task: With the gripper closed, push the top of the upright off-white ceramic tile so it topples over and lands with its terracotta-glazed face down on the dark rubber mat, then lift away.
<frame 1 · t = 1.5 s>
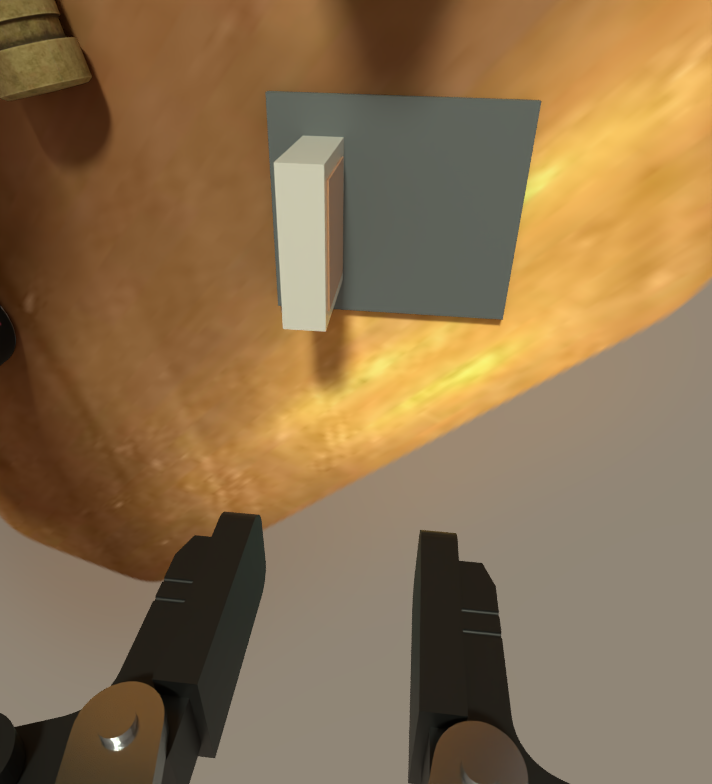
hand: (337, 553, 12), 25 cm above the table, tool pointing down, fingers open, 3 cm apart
tile: (324, 212, 33), point 1 cm above the table, touching mat
mat: (394, 212, 33), on the table
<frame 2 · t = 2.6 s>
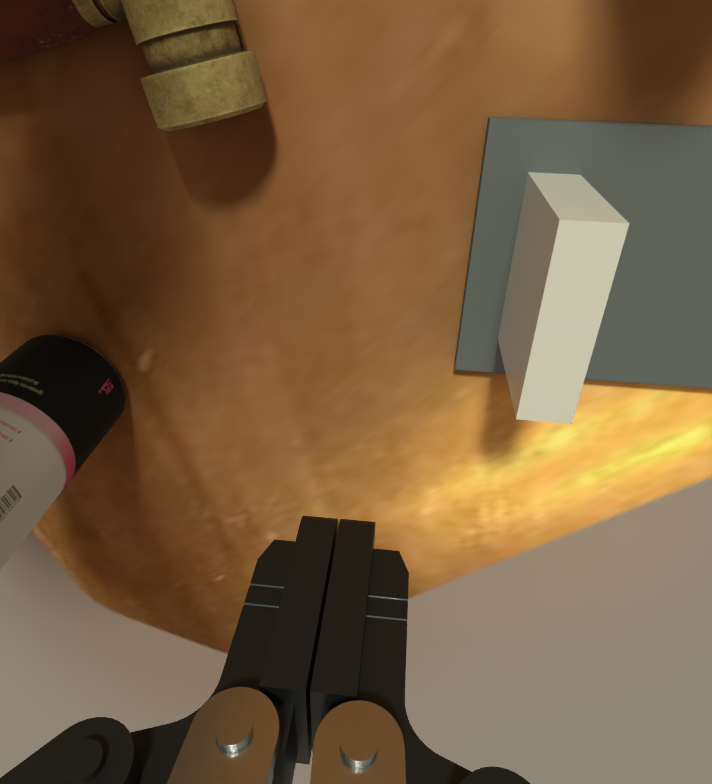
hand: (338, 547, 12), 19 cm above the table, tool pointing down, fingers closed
beverage can: (76, 378, 34), on the table
tile: (535, 263, 26), point 1 cm above the table, touching mat
mat: (620, 264, 27), on the table
gavel: (16, 24, 24), on the table
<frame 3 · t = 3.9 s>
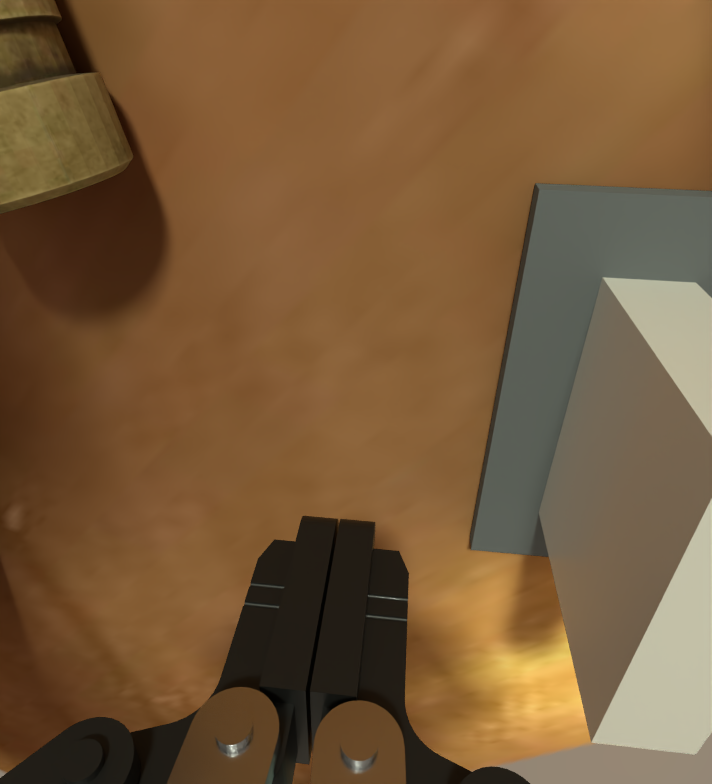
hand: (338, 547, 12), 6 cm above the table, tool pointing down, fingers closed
tile: (606, 413, 16), point 1 cm above the table, touching mat
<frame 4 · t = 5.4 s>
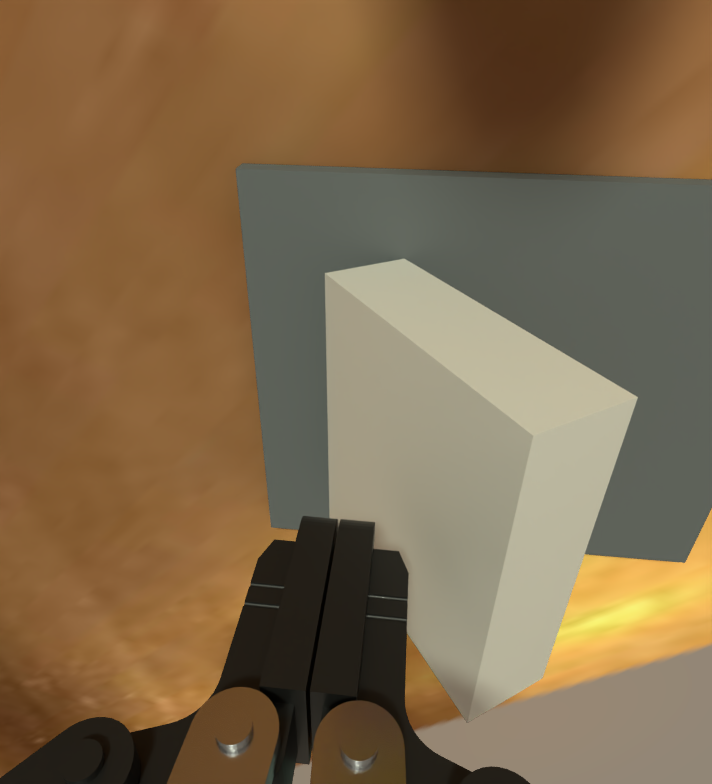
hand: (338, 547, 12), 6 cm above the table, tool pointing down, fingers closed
tile: (362, 402, 16), point 1 cm above the table, tilted 34°, touching mat
mat: (496, 387, 17), on the table
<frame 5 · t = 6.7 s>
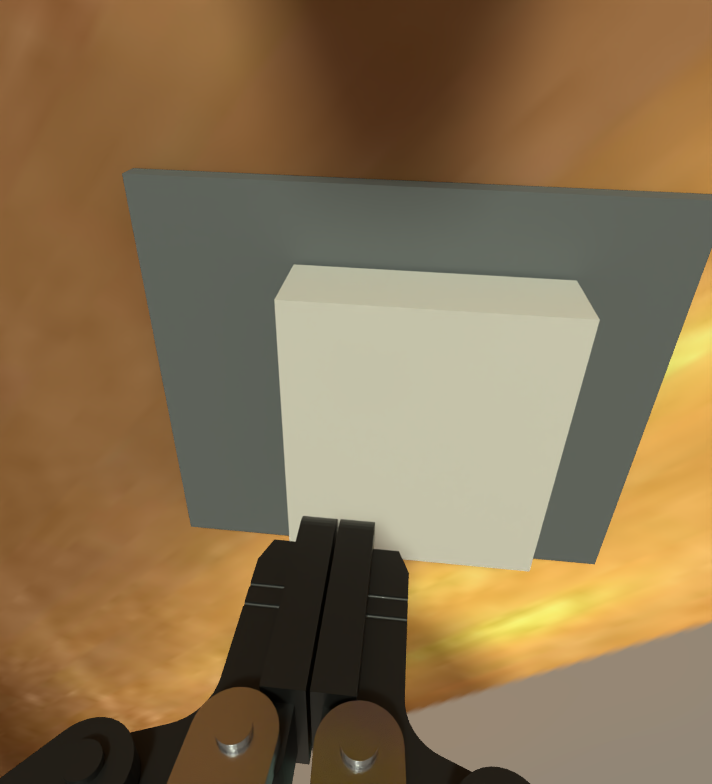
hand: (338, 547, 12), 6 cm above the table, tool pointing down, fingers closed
tile: (291, 417, 16), point 2 cm above the table, tilted 90°, touching mat
mat: (398, 390, 17), on the table
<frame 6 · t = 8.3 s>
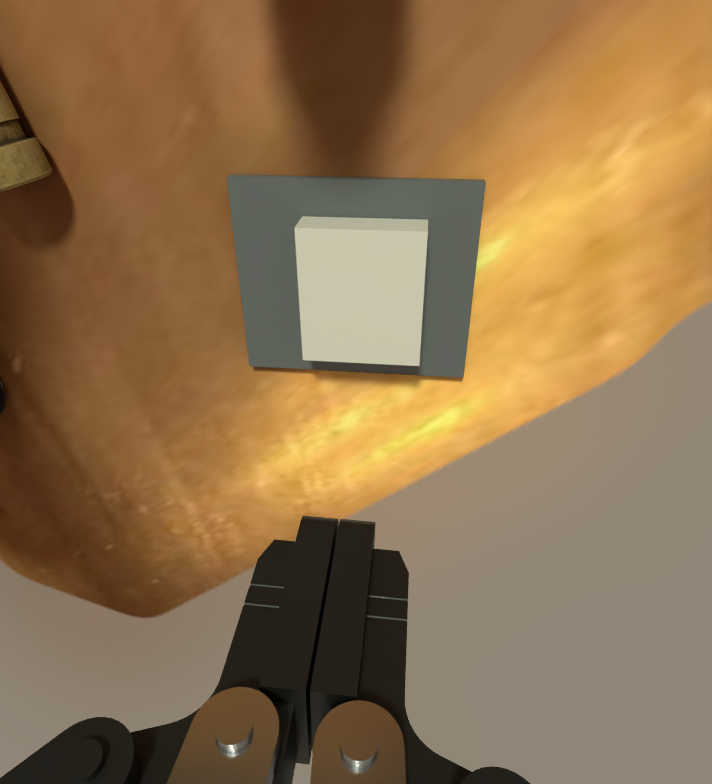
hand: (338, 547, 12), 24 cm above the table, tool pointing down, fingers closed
tile: (302, 290, 33), point 2 cm above the table, tilted 90°, touching mat
mat: (355, 281, 34), on the table
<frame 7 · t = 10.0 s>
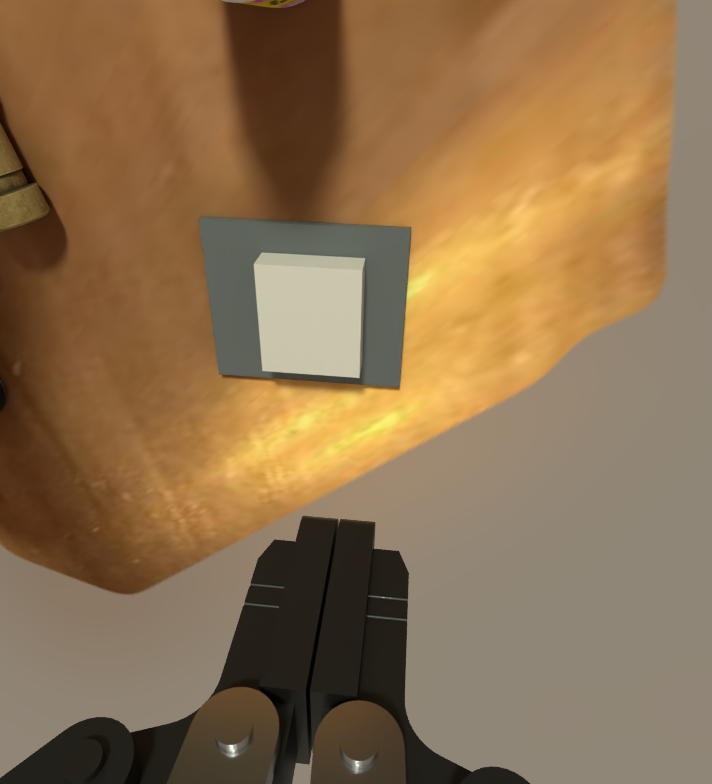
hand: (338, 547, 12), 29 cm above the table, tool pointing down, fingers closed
tile: (262, 313, 40), point 2 cm above the table, tilted 90°, touching mat
mat: (307, 305, 41), on the table
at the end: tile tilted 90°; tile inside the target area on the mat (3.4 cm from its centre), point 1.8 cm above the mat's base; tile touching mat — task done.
